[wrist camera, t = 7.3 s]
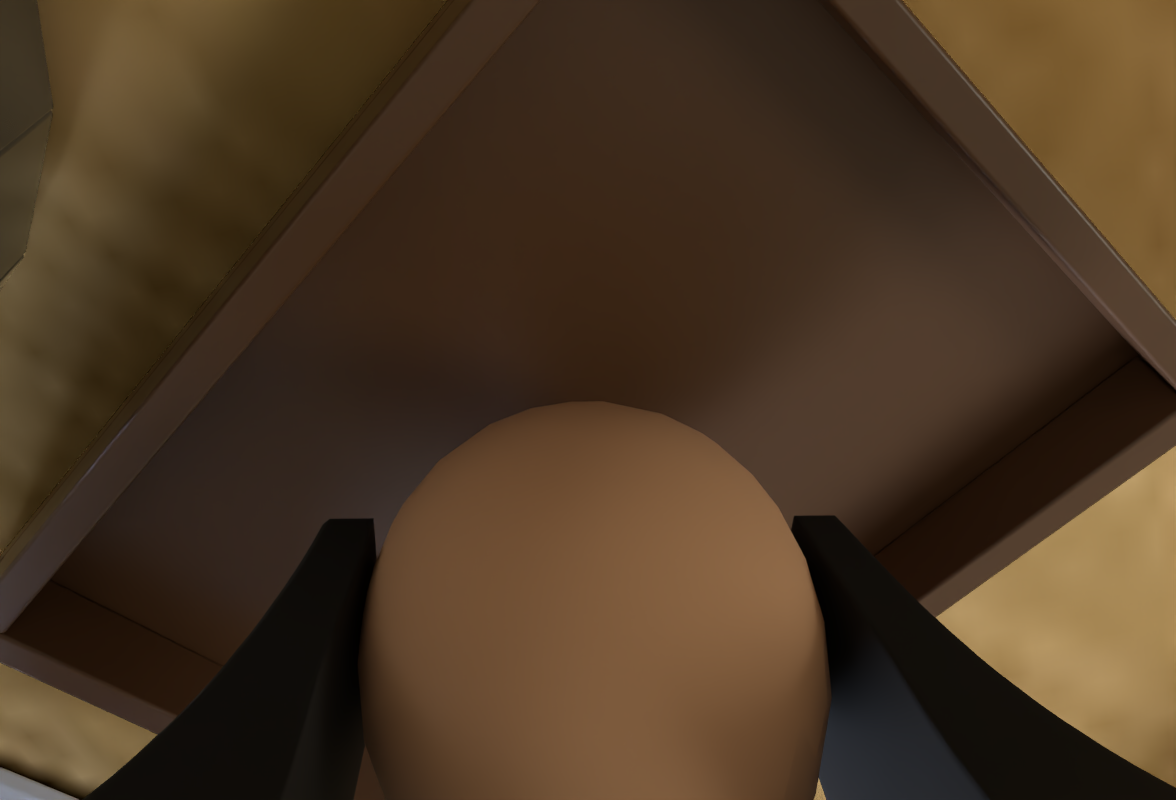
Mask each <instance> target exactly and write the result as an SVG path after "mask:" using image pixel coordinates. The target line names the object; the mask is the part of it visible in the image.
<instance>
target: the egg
mask: <svg viewBox="0 0 1176 800" xmlns="http://www.w3.org/2000/svg"><path fill="white" fill-rule="evenodd" d="M357 666H358V677H359V688H360V700H361V711H362V722H363V733H364V742H365V745H366V748H367V751H368V754H369V756H370V759H371V762H372V765H373V768H374V770H375V773H376V776H377V779H378V781H379V784H380V786H381V789H382V791H383V794H384V796H385V799H386V800H813V799H814V797H815V794H816V789H817V783H818V777H819V771H820V765H821V759H822V753H823V747H824V741H825V736H826V730H827V724H828V718H829V712H830V706H831V700H832V694H831V684H830V673H829V663H828V652H827V642H826V631H825V622H824V618H823V615H822V612H821V608H820V605H819V602H818V598H817V595H816V592H815V588H814V585H813V582H812V578H811V575H810V571H809V568H808V565H807V561H806V558H805V557H804V555H803V553H802V551H801V549H800V547H799V545H798V543H797V542H796V540H795V538H794V536H793V534H792V532H791V530H790V528H789V527H788V525H787V523H786V521H785V519H784V517H783V515H782V513H781V511H780V510H779V508H778V506H777V505H776V504H775V502H774V501H773V500H772V499H771V497H770V496H769V495H768V494H767V492H766V491H765V490H764V489H763V487H762V486H761V485H760V483H759V482H758V481H757V480H756V478H755V477H754V476H753V475H752V474H751V473H750V472H749V471H748V470H747V469H746V468H744V467H743V466H742V465H741V464H740V463H739V462H738V461H736V460H735V459H734V458H733V457H732V456H731V455H730V454H728V453H727V452H726V451H725V450H724V449H723V448H721V447H720V446H719V445H718V444H717V443H715V442H714V441H713V440H711V439H710V438H708V437H707V436H705V435H704V434H703V433H701V432H699V431H697V430H695V429H693V428H690V427H688V426H686V425H684V424H682V423H680V422H678V421H676V420H674V419H672V418H670V417H668V416H665V415H663V414H661V413H656V412H652V411H647V410H642V409H637V408H633V407H628V406H623V405H618V404H613V403H609V402H604V401H585V402H566V403H560V404H554V405H548V406H541V407H535V408H530V409H528V410H525V411H523V412H520V413H517V414H515V415H512V416H510V417H507V418H504V419H502V420H499V421H497V422H494V423H491V424H489V425H488V426H487V427H485V428H484V429H482V430H481V431H480V432H478V433H477V434H475V435H474V436H473V437H471V438H470V439H468V440H467V441H466V442H464V443H463V444H461V445H460V446H459V447H457V448H456V449H454V450H453V451H452V452H450V453H449V454H448V455H446V456H445V457H443V458H442V459H441V460H439V461H438V462H437V463H436V465H435V466H434V467H433V468H432V469H431V471H430V472H429V473H428V474H427V476H426V477H425V478H424V479H423V480H422V482H421V483H420V484H419V485H418V486H417V488H416V489H415V490H414V491H413V492H412V494H411V495H410V496H409V497H408V499H407V500H406V501H405V502H404V503H403V505H402V507H401V508H400V510H399V512H398V514H397V516H396V517H395V519H394V521H393V523H392V524H391V527H390V529H389V532H388V534H387V536H386V539H385V541H384V544H383V546H382V548H381V551H380V553H379V556H378V558H377V560H376V563H375V565H374V568H373V572H372V576H371V579H370V583H369V587H368V591H367V595H366V601H365V606H364V611H363V618H362V626H361V633H360V642H359V652H358V663H357Z"/></svg>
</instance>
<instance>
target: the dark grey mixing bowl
mask: <svg viewBox="0 0 1176 800" xmlns="http://www.w3.org/2000/svg"><path fill="white" fill-rule="evenodd" d="M52 109H53V101H52V95H51V88H50V82H49V76H48V69H47V63H46V56H45V50H44V43H43V37H42V31H41V24H40V18H39V11H38V5H37V0H0V291H1V289H2V288H3V287H4V285H5V284H6V282H7V281H8V279H9V278H10V277H11V275H12V274H13V272H14V271H15V269H16V268H17V267H18V265H19V264H20V262H21V261H22V259H23V258H24V253H25V252H26V248H27V243H28V238H29V233H30V228H31V223H32V218H33V213H34V208H35V203H36V197H37V192H38V187H39V182H40V177H41V172H42V167H43V162H44V157H45V152H46V146H47V141H48V136H49V131H50V126H51V121H52V116H53V114H52Z"/></svg>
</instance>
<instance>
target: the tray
mask: <svg viewBox="0 0 1176 800" xmlns="http://www.w3.org/2000/svg"><path fill="white" fill-rule="evenodd" d="M585 401H604V402H609V403H613V404H618V405H623V406H628V407H633V408H637V409H642V410H647V411H652V412H656V413H661V414H663V415H665V416H668V417H670V418H672V419H674V420H676V421H678V422H680V423H682V424H684V425H686V426H688V427H690V428H693V429H695V430H697V431H699V432H701V433H703V434H704V435H705V436H707V437H708V438H710V439H711V440H713V441H714V442H715V443H717V444H718V445H719V446H720V447H721V448H723V449H724V450H725V451H726V452H727V453H728V454H730V455H731V456H732V457H733V458H734V459H735V460H736V461H738V462H739V463H740V464H741V465H742V466H743V467H744V468H746V469H747V470H748V471H749V472H750V473H751V474H752V475H753V476H754V477H755V478H756V480H757V481H758V482H759V483H760V485H761V486H762V487H763V489H764V490H765V491H766V492H767V494H768V495H769V496H770V497H771V499H772V500H773V501H774V502H775V504H776V505H777V506H778V508H779V510H780V511H781V513H782V515H783V517H784V519H785V521H786V523H787V525H788V527H789V528H790V530H791V528H792V523H793V518H794V516H805V515H835V516H836V517H837V518H838V519H839V520H840V521H841V522H842V523H843V524H844V525H845V526H846V527H847V528H848V529H849V530H850V532H851V533H852V534H853V535H854V536H855V537H856V538H857V539H858V540H859V541H860V542H861V543H862V544H863V545H864V546H865V547H866V548H867V550H868V551H869V552H870V553H871V554H872V555H873V556H874V557H875V558H876V559H877V560H878V561H879V562H880V563H881V564H882V565H883V566H884V567H885V568H886V569H887V571H888V572H889V573H890V574H891V575H892V576H893V577H894V578H895V579H896V580H897V581H898V582H899V583H900V584H901V585H902V586H903V587H904V588H905V589H906V590H907V591H908V592H909V593H910V594H911V595H912V596H913V597H914V598H915V599H916V600H917V601H918V602H919V603H920V604H921V605H922V606H923V607H924V608H925V609H927V610H928V611H929V612H930V613H931V614H932V615H933V616H934V617H937V616H938V615H939V614H941V613H942V612H944V611H945V610H946V609H948V608H949V607H951V606H952V605H953V604H955V603H956V602H958V601H959V600H960V599H962V598H963V597H965V596H966V595H967V594H969V593H970V592H971V591H973V590H974V589H976V588H977V587H978V586H980V585H981V584H983V583H984V582H985V581H987V580H988V579H990V578H991V577H992V576H994V575H995V574H997V573H998V572H999V571H1001V570H1002V569H1004V568H1005V567H1006V566H1008V565H1009V564H1011V563H1012V562H1013V561H1015V560H1016V559H1018V558H1019V557H1020V556H1022V555H1023V554H1025V553H1026V552H1027V551H1029V550H1030V549H1032V548H1033V547H1034V546H1036V545H1037V544H1039V543H1040V542H1041V541H1043V540H1044V539H1046V538H1047V537H1048V536H1050V535H1051V534H1053V533H1054V532H1055V531H1057V530H1058V529H1060V528H1061V527H1062V526H1064V525H1065V524H1067V523H1068V522H1069V521H1071V520H1072V519H1074V518H1075V517H1076V516H1078V515H1079V514H1081V513H1082V512H1083V511H1085V510H1086V509H1088V508H1089V507H1090V506H1092V505H1093V504H1095V503H1096V502H1097V501H1099V500H1100V499H1102V498H1103V497H1104V496H1106V495H1107V494H1109V493H1110V492H1111V491H1113V490H1114V489H1116V488H1117V487H1118V486H1120V485H1121V484H1123V483H1124V482H1125V481H1127V480H1128V479H1130V478H1131V477H1132V476H1134V475H1135V474H1137V473H1138V472H1139V471H1141V470H1142V469H1144V468H1145V467H1146V466H1148V465H1149V464H1151V463H1152V462H1153V461H1155V460H1156V459H1158V458H1159V457H1160V456H1162V455H1163V454H1165V453H1166V452H1167V451H1169V450H1170V449H1172V448H1173V447H1174V446H1176V320H1175V318H1174V317H1173V316H1172V315H1171V314H1170V313H1169V311H1168V310H1167V309H1166V308H1165V307H1164V306H1163V304H1162V303H1161V302H1160V301H1159V300H1158V299H1157V297H1156V296H1155V295H1154V294H1153V293H1152V292H1151V290H1150V289H1149V288H1148V287H1147V286H1146V285H1145V283H1144V282H1143V281H1142V280H1141V279H1140V278H1139V276H1138V275H1137V274H1136V273H1135V272H1134V271H1133V269H1132V268H1131V267H1130V266H1129V265H1128V264H1127V262H1126V261H1125V260H1124V259H1123V258H1122V257H1121V255H1120V254H1119V253H1118V252H1117V251H1116V250H1115V248H1114V247H1113V246H1112V245H1111V244H1110V243H1109V241H1108V240H1107V239H1106V238H1105V237H1104V236H1103V234H1102V233H1101V232H1100V231H1099V230H1098V229H1097V227H1096V226H1095V225H1094V224H1093V223H1092V222H1091V220H1090V219H1089V218H1088V217H1087V216H1086V214H1085V213H1084V212H1083V211H1082V210H1081V209H1080V207H1079V206H1078V205H1077V204H1076V203H1075V202H1074V200H1073V199H1072V198H1071V197H1070V196H1069V195H1068V193H1067V192H1066V191H1065V190H1064V189H1063V188H1062V186H1061V185H1060V184H1059V183H1058V182H1057V181H1056V179H1055V178H1054V177H1053V176H1052V175H1051V174H1050V172H1049V171H1048V170H1047V169H1046V168H1045V167H1044V165H1043V164H1042V163H1041V162H1040V161H1039V160H1038V158H1037V157H1036V156H1035V155H1034V154H1033V153H1032V151H1031V150H1030V149H1029V148H1028V147H1027V146H1026V144H1025V143H1024V142H1023V141H1022V140H1021V139H1020V137H1019V136H1018V135H1017V134H1016V133H1015V132H1014V130H1013V129H1012V128H1011V127H1010V126H1009V125H1008V123H1007V122H1006V121H1005V120H1004V119H1003V118H1002V116H1001V115H1000V114H999V113H998V112H997V111H996V109H995V108H994V107H993V106H992V105H991V104H990V102H989V101H988V100H987V99H986V98H985V97H984V95H983V94H982V93H981V92H980V91H979V90H978V88H977V87H976V86H975V85H974V84H973V83H972V81H971V80H970V79H969V78H968V77H967V75H966V74H965V73H964V72H963V71H962V70H961V68H960V67H959V66H958V65H957V64H956V63H955V61H954V60H953V59H952V58H951V57H950V56H949V54H948V53H947V52H946V51H945V50H944V49H943V47H942V46H941V45H940V44H939V43H938V42H937V40H936V39H935V38H934V37H933V36H932V35H931V33H930V32H929V31H928V30H927V29H926V28H925V26H924V25H923V24H922V23H921V22H920V21H919V19H918V18H917V17H916V16H915V15H914V14H913V12H912V11H911V10H910V9H909V8H908V7H907V5H906V4H905V3H904V2H903V1H902V0H448V1H447V2H446V3H445V5H444V6H443V7H442V8H441V10H440V11H439V12H438V13H437V15H436V16H435V17H434V18H433V20H432V21H431V22H430V23H429V24H428V26H427V27H426V28H425V29H424V31H423V32H422V33H421V34H420V36H419V37H418V38H417V39H416V41H415V42H414V43H413V44H412V46H411V47H410V48H409V49H408V51H407V52H406V53H405V54H404V55H403V57H402V58H401V59H400V60H399V62H398V63H397V64H396V65H395V67H394V68H393V69H392V70H391V72H390V73H389V74H388V75H387V77H386V78H385V79H384V80H383V82H382V83H381V84H380V85H379V86H378V88H377V89H376V90H375V91H374V93H373V94H372V95H371V96H370V98H369V99H368V100H367V101H366V103H365V104H364V105H363V106H362V108H361V109H360V110H359V111H358V113H357V114H356V115H355V116H354V117H353V119H352V120H351V121H350V122H349V124H348V125H347V126H346V127H345V129H344V130H343V131H342V132H341V134H340V135H339V136H338V137H337V139H336V140H335V141H334V142H333V144H332V145H331V146H330V147H329V148H328V150H327V151H326V152H325V153H324V155H323V156H322V157H321V158H320V160H319V161H318V162H317V163H316V165H315V166H314V167H313V168H312V170H311V171H310V172H309V173H308V175H307V176H306V177H305V178H304V179H303V181H302V182H301V183H300V184H299V186H298V187H297V188H296V189H295V191H294V192H293V193H292V194H291V196H290V197H289V198H288V199H287V201H286V202H285V203H284V204H283V206H282V207H281V208H280V209H279V210H278V212H277V213H276V214H275V215H274V217H273V218H272V219H271V220H270V222H269V223H268V224H267V225H266V227H265V228H264V229H263V230H262V232H261V233H260V234H259V235H258V237H257V238H256V239H255V240H254V241H253V243H252V244H251V245H250V246H249V248H248V249H247V250H246V251H245V253H244V254H243V255H242V256H241V258H240V259H239V260H238V261H237V263H236V264H235V265H234V266H233V267H232V269H231V270H230V271H229V272H228V274H227V275H226V276H225V277H224V279H223V280H222V281H221V282H220V284H219V285H218V286H217V287H216V289H215V290H214V291H213V292H212V294H211V295H210V296H209V297H208V298H207V300H206V301H205V302H204V303H203V305H202V306H201V307H200V308H199V310H198V311H197V312H196V313H195V315H194V316H193V317H192V318H191V320H190V321H189V322H188V323H187V325H186V326H185V327H184V328H183V329H182V331H181V332H180V333H179V334H178V336H177V337H176V338H175V339H174V341H173V342H172V343H171V344H170V346H169V347H168V348H167V349H166V351H165V352H164V353H163V354H162V356H161V357H160V358H159V359H158V360H157V362H156V363H155V364H154V365H153V367H152V368H151V369H150V370H149V372H148V373H147V374H146V375H145V377H144V378H143V379H142V380H141V382H140V383H139V384H138V385H137V387H136V388H135V389H134V390H133V391H132V393H131V394H130V395H129V396H128V398H127V399H126V400H125V401H124V403H123V404H122V405H121V406H120V408H119V409H118V410H117V411H116V413H115V414H114V415H113V416H112V418H111V419H110V420H109V421H108V422H107V424H106V425H105V426H104V427H103V429H102V430H101V431H100V432H99V434H98V435H97V436H96V437H95V439H94V440H93V441H92V442H91V444H90V445H89V446H88V447H87V449H86V450H85V451H84V452H83V453H82V455H81V456H80V457H79V458H78V460H77V461H76V462H75V463H74V465H73V466H72V467H71V468H70V470H69V471H68V472H67V473H66V475H65V476H64V477H63V478H62V480H61V481H60V482H59V483H58V484H57V486H56V487H55V488H54V489H53V491H52V492H51V493H50V494H49V496H48V497H47V498H46V499H45V501H44V502H43V503H42V504H41V506H40V507H39V508H38V509H37V511H36V512H35V513H34V514H33V515H32V517H31V518H30V519H29V520H28V522H27V523H26V524H25V525H24V527H23V528H22V529H21V530H20V532H19V533H18V534H17V535H16V537H15V538H14V539H13V540H12V542H11V543H10V544H9V545H8V546H7V548H6V549H5V550H4V551H3V553H2V554H1V556H0V663H2V664H4V665H6V666H8V667H11V668H13V669H15V670H17V671H19V672H22V673H24V674H26V675H28V676H30V677H33V678H35V679H37V680H39V681H41V682H44V683H46V684H48V685H50V686H52V687H55V688H57V689H59V690H61V691H63V692H66V693H68V694H70V695H72V696H74V697H77V698H79V699H81V700H83V701H85V702H88V703H90V704H92V705H94V706H96V707H99V708H101V709H103V710H105V711H107V712H110V713H112V714H114V715H116V716H118V717H121V718H123V719H125V720H127V721H129V722H132V723H134V724H136V725H138V726H140V727H143V728H145V729H147V730H149V731H151V732H154V733H156V734H159V733H160V732H161V731H162V730H163V729H164V728H166V727H167V726H168V725H169V724H170V723H171V722H172V721H173V720H174V719H175V718H176V717H177V716H178V715H179V714H180V713H181V712H182V711H183V710H184V709H185V708H186V707H187V706H188V704H189V703H190V702H191V701H192V700H193V699H194V698H195V697H196V696H197V695H198V694H199V693H200V692H201V691H202V690H203V689H204V688H205V686H206V685H207V684H208V683H209V682H210V681H211V680H212V679H213V677H214V676H215V675H216V674H217V673H218V672H219V671H220V669H221V668H222V667H223V666H224V665H225V664H226V662H227V661H228V660H229V659H230V657H231V656H232V655H233V654H234V652H235V651H236V650H237V649H238V648H239V646H240V645H241V644H242V643H243V641H244V640H245V639H246V638H247V637H248V635H249V634H250V633H251V632H252V630H253V629H254V628H255V626H256V625H257V624H258V623H259V621H260V620H261V618H262V617H263V616H264V614H265V613H266V612H267V610H268V609H269V607H270V606H271V605H272V603H273V602H274V600H275V599H276V598H277V596H278V595H279V593H280V592H281V591H282V589H283V588H284V586H285V585H286V583H287V582H288V580H289V579H290V577H291V576H292V574H293V573H294V571H295V570H296V568H297V567H298V565H299V564H300V562H301V561H302V559H303V557H304V556H305V554H306V553H307V551H308V549H309V548H310V546H311V544H312V542H313V541H314V539H315V537H316V536H317V534H318V532H319V530H320V528H321V526H322V525H323V524H324V523H325V522H326V521H328V520H329V519H358V518H374V530H375V543H376V555H377V558H378V556H379V553H380V551H381V548H382V546H383V544H384V541H385V539H386V536H387V534H388V532H389V529H390V527H391V524H392V523H393V521H394V519H395V517H396V516H397V514H398V512H399V510H400V508H401V507H402V505H403V503H404V502H405V501H406V500H407V499H408V497H409V496H410V495H411V494H412V492H413V491H414V490H415V489H416V488H417V486H418V485H419V484H420V483H421V482H422V480H423V479H424V478H425V477H426V476H427V474H428V473H429V472H430V471H431V469H432V468H433V467H434V466H435V465H436V463H437V462H438V461H439V460H441V459H442V458H443V457H445V456H446V455H448V454H449V453H450V452H452V451H453V450H454V449H456V448H457V447H459V446H460V445H461V444H463V443H464V442H466V441H467V440H468V439H470V438H471V437H473V436H474V435H475V434H477V433H478V432H480V431H481V430H482V429H484V428H485V427H487V426H488V425H489V424H491V423H494V422H497V421H499V420H502V419H504V418H507V417H510V416H512V415H515V414H517V413H520V412H523V411H525V410H528V409H530V408H535V407H541V406H548V405H554V404H560V403H566V402H585ZM354 800H386V799H385V796H384V794H383V791H382V789H381V786H380V784H379V781H378V779H377V776H376V773H375V770H374V768H373V765H372V762H371V759H370V756H369V754H368V751H367V748H366V745H365V748H364V753H363V757H362V762H361V767H360V772H359V776H358V781H357V786H356V791H355V796H354Z"/></svg>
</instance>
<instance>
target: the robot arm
mask: <svg viewBox="0 0 1176 800" xmlns="http://www.w3.org/2000/svg"><path fill="white" fill-rule="evenodd" d="M791 532H792V534H793V536H794V538H795V540H796V542H797V543H798V545H799V547H800V549H801V551H802V553H803V555H804V557H805V558H806V561H807V565H808V568H809V571H810V575H811V578H812V582H813V585H814V588H815V592H816V595H817V598H818V602H819V605H820V608H821V612H822V615H823V618H824V622H825V631H826V642H827V652H828V663H829V673H830V684H831V694H832V700H831V706H830V712H829V718H828V724H827V730H826V736H825V741H824V747H823V753H822V759H821V765H820V771H819V779H820V782H821V785H822V788H823V791H824V794H825V797H826V800H1176V788H1175V787H1173V786H1171V785H1169V784H1167V783H1166V782H1164V781H1162V780H1160V779H1158V778H1157V777H1155V776H1153V775H1151V774H1149V773H1148V772H1146V771H1144V770H1142V769H1140V768H1139V767H1137V766H1135V765H1133V764H1132V763H1130V762H1128V761H1127V760H1125V759H1123V758H1122V757H1120V756H1118V755H1117V754H1115V753H1113V752H1112V751H1110V750H1108V749H1107V748H1105V747H1103V746H1102V745H1100V744H1099V743H1097V742H1096V741H1094V740H1093V739H1091V738H1089V737H1088V736H1086V735H1085V734H1083V733H1082V732H1080V731H1079V730H1077V729H1076V728H1074V727H1073V726H1071V725H1069V724H1068V723H1066V722H1065V721H1063V720H1062V719H1060V718H1059V717H1057V716H1056V715H1055V714H1053V713H1052V712H1050V711H1049V710H1047V709H1046V708H1045V707H1043V706H1042V705H1040V704H1039V703H1038V702H1036V701H1035V700H1034V699H1032V698H1031V697H1030V696H1028V695H1027V694H1026V693H1024V692H1023V691H1022V690H1020V689H1019V688H1018V687H1016V686H1015V685H1014V684H1012V683H1011V682H1010V681H1009V680H1007V679H1006V678H1005V677H1003V676H1002V675H1001V674H999V673H998V672H997V671H996V670H994V669H993V668H992V667H991V666H989V665H988V664H987V663H986V662H985V661H983V660H982V659H981V658H980V657H979V656H977V655H976V654H975V653H974V652H973V651H972V650H971V649H969V648H968V647H967V646H966V645H965V644H964V643H963V642H962V641H960V640H959V639H958V638H957V637H956V636H955V635H954V634H952V633H951V632H950V631H949V630H948V629H947V628H946V627H945V626H944V625H942V624H941V623H940V622H939V621H938V620H937V619H936V618H935V617H934V616H933V615H932V614H931V613H930V612H929V611H928V610H927V609H925V608H924V607H923V606H922V605H921V604H920V603H919V602H918V601H917V600H916V599H915V598H914V597H913V596H912V595H911V594H910V593H909V592H908V591H907V590H906V589H905V588H904V587H903V586H902V585H901V584H900V583H899V582H898V581H897V580H896V579H895V578H894V577H893V576H892V575H891V574H890V573H889V572H888V571H887V569H886V568H885V567H884V566H883V565H882V564H881V563H880V562H879V561H878V560H877V559H876V558H875V557H874V556H873V555H872V554H871V553H870V552H869V551H868V550H867V548H866V547H865V546H864V545H863V544H862V543H861V542H860V541H859V540H858V539H857V538H856V537H855V536H854V535H853V534H852V533H851V532H850V530H849V529H848V528H847V527H846V526H845V525H844V524H843V523H842V522H841V521H840V520H839V519H838V518H837V517H836V516H835V515H805V516H794V518H793V523H792V528H791ZM376 560H377V555H376V543H375V530H374V518H358V519H329V520H328V521H326V522H325V523H324V524H323V525H322V526H321V528H320V530H319V532H318V534H317V536H316V537H315V539H314V541H313V542H312V544H311V546H310V548H309V549H308V551H307V553H306V554H305V556H304V557H303V559H302V561H301V562H300V564H299V565H298V567H297V568H296V570H295V571H294V573H293V574H292V576H291V577H290V579H289V580H288V582H287V583H286V585H285V586H284V588H283V589H282V591H281V592H280V593H279V595H278V596H277V598H276V599H275V600H274V602H273V603H272V605H271V606H270V607H269V609H268V610H267V612H266V613H265V614H264V616H263V617H262V618H261V620H260V621H259V623H258V624H257V625H256V626H255V628H254V629H253V630H252V632H251V633H250V634H249V635H248V637H247V638H246V639H245V640H244V641H243V643H242V644H241V645H240V646H239V648H238V649H237V650H236V651H235V652H234V654H233V655H232V656H231V657H230V659H229V660H228V661H227V662H226V664H225V665H224V666H223V667H222V668H221V669H220V671H219V672H218V673H217V674H216V675H215V676H214V677H213V679H212V680H211V681H210V682H209V683H208V684H207V685H206V686H205V688H204V689H203V690H202V691H201V692H200V693H199V694H198V695H197V696H196V697H195V698H194V699H193V700H192V701H191V702H190V703H189V704H188V706H187V707H186V708H185V709H184V710H183V711H182V712H181V713H180V714H179V715H178V716H177V717H176V718H175V719H174V720H173V721H172V722H171V723H170V724H169V725H168V726H167V727H166V728H164V729H163V730H162V731H161V732H160V733H159V734H158V735H157V736H156V737H155V738H154V739H153V740H152V741H151V742H150V743H148V744H147V745H146V746H145V747H144V748H143V749H142V750H141V751H140V752H139V753H138V754H137V755H136V756H134V757H133V758H132V759H131V760H130V761H129V762H128V763H127V764H125V765H124V766H123V767H122V768H121V769H120V770H118V771H117V772H116V773H115V774H114V775H113V776H111V777H110V778H109V779H108V780H106V781H105V782H104V783H103V784H101V785H100V786H99V787H98V788H96V789H95V790H94V791H93V792H91V793H90V794H89V795H87V796H86V797H85V798H84V799H82V800H354V796H355V791H356V786H357V781H358V776H359V772H360V767H361V762H362V757H363V753H364V748H365V742H364V733H363V722H362V711H361V700H360V688H359V677H358V666H357V663H358V652H359V642H360V633H361V626H362V618H363V611H364V606H365V601H366V595H367V591H368V587H369V583H370V579H371V576H372V572H373V568H374V565H375V563H376ZM0 800H79V799H77V798H75V797H72V796H70V795H67V794H65V793H62V792H60V791H58V790H55V789H53V788H50V787H48V786H45V785H43V784H41V783H38V782H36V781H33V780H31V779H28V778H26V777H24V776H21V775H19V774H16V773H14V772H11V771H9V770H7V769H4V768H0Z"/></svg>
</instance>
